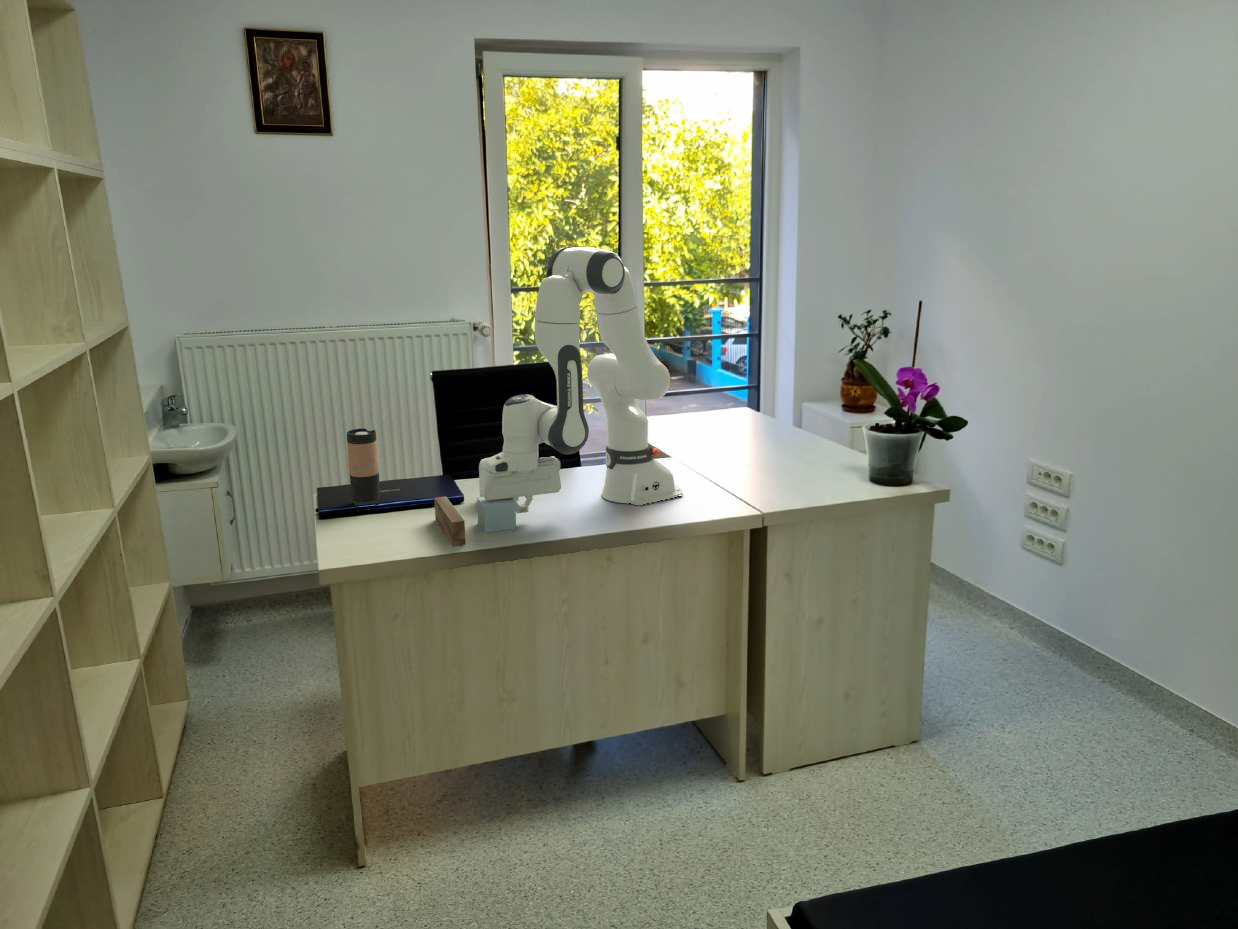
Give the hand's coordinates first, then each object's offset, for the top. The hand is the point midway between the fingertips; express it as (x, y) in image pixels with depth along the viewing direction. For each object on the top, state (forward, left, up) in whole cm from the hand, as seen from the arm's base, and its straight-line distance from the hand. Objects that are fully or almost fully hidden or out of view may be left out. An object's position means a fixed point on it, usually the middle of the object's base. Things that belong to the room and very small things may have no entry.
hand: (522, 512), depth 239 cm
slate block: (+7, 0, -3) cm, 7 cm away
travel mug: (+35, -30, -3) cm, 46 cm away
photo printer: (+2, -18, -3) cm, 18 cm away
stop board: (+19, 0, -3) cm, 19 cm away
